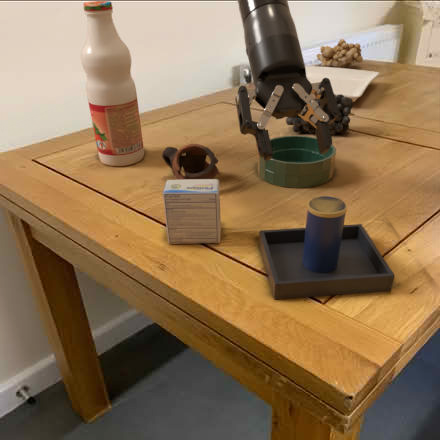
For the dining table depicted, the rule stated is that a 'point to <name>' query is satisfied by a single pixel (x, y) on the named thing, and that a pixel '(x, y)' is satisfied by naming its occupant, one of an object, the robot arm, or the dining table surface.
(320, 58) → the mineral formation
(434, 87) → the dining table surface
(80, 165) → the dining table surface
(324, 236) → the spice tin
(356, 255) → the tray
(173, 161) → the pottery mug
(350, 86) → the square plate
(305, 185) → the bowl
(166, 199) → the medicine box
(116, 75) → the fruit juice
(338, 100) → the fruit
